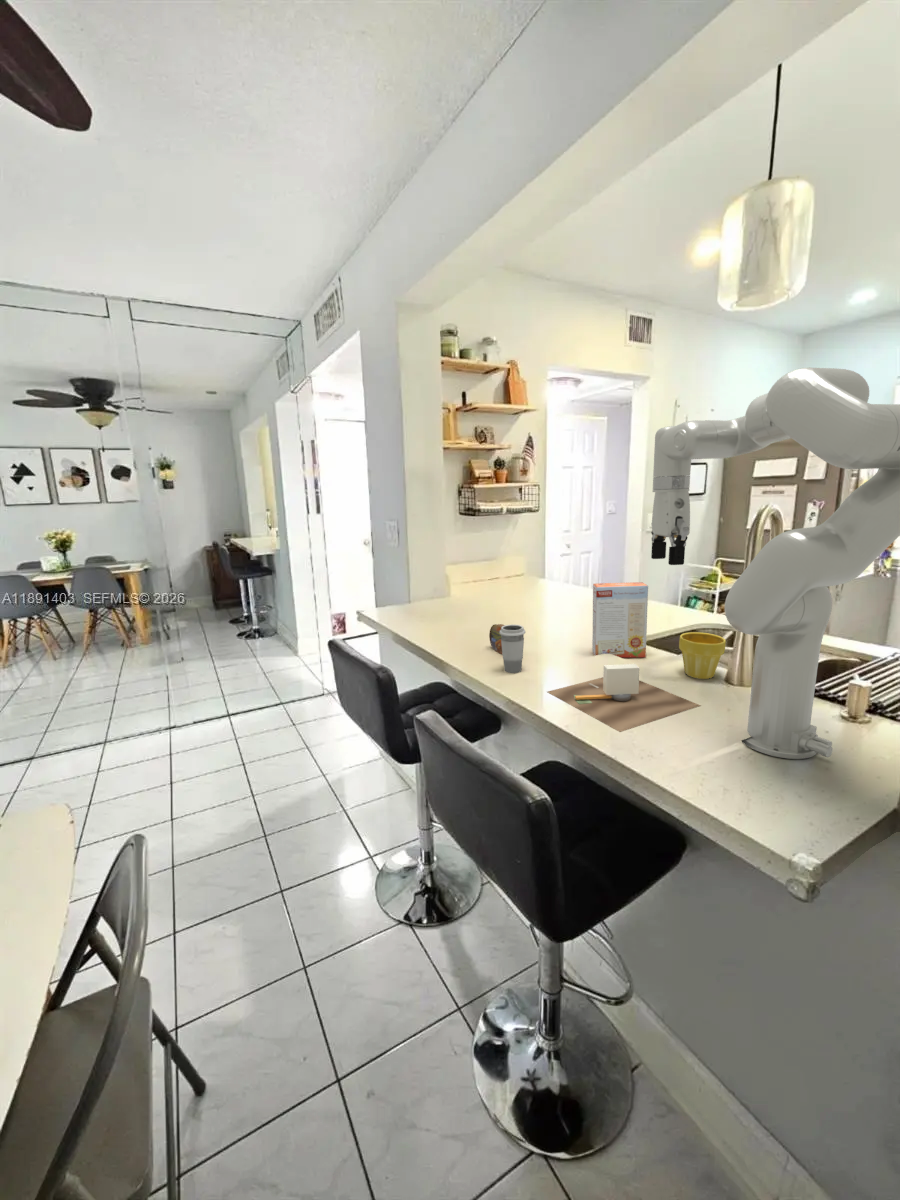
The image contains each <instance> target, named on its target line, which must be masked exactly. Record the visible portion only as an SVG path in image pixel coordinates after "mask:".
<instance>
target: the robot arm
mask: <svg viewBox="0 0 900 1200" xmlns="http://www.w3.org/2000/svg"><path fill="white" fill-rule="evenodd" d="M869 397H870V387H869V384H868V381H867V380H866V379H865V377H863V376H862V375H861V374H860V373H858V372H856V371H854V370H849V369H846V368H837V367H835V368H830V367H801V368H797V369H793V370H790V371H789V372H787V373H785V374H784V375H782V376H781V377H779V379H777V380H776V381H775V382H774V384H773V385H772V386H771V388H770V389H769V391H768V392H767V393H764V394H762V395H759V396H757V397H756V398H755V399H752V401H751V402H750V403H749V404H748V407H747V409H746V411H745V414H744V415H743V416H740V417H737V418H734V419H729V420H728V419H727V420H721V419H720V420H719V419H717V420H715V419H713V420H711V419H708V420H687V421H685V422H682V423H679V424H677V425H671V426H664V427H661V428H659V429H657V431H656V432H655V435H654V436H655V437H654V453H653V456H654V457H653V470H652V471H653V475H652V493H654V497H653V504H652V505H653V506H652V519H651V535H652V537H651V555H650V556H651V559H652V560H662V559H666V558H667V557H666V556H667V541H666V538H668V539H669V542H670V546H669V547H668V548H669V549H668V565H669V566H681V565H684V564H685V554H686V552H685V551H686V546H687V540H688V536H689V534H690V531H691V530H690V529H691V504H690V503H691V502H690V488H691V487H690V486H691V485H690V484H691V470H692V469H691V467H692V460H702V459H703V460H704V459H705V460H707V459H708V460H709V459H710V460H711V459H712V460H713V459H714V460H715V459H716V460H717V459H718V460H719V459H728V458H734V457H737V456H741V455H742V456H743V455H745V454H749V453H755V452H756V451H760V450H762V449H764V448H767V447H768V446H770V445H771V444H774V443H777V442H779V443H780V442H782V441H785V440H790V439H792V440H793V441H795V442H796V443H797V444H799V445H800V446H802V447H803V448H805V449H806V450H808V452H811V453H812V454H813V455H815V456H816V457H817V458H819V459H820V460H822V461H824V462H825V463H827V464H829V465H831V466H834V467H837V468H841V469H845V470H870V469H871V470H873V469H878V471H877V472H875V474H874V475H873V476H872V477H870V478H869V479H868V480H866V481H865V482H864V483H863V484H861V485H860V486H858V487H857V488H856V489H855V490H853V491H852V492H851V493H850V494H849V495H848V496H847V497H846V498H845V499H844V500H843V501H842V503H841V504H840V506H839V507H838V508H837V509H836V510H835V511H834V512H833V513H832V514H831V515H830V516H829V517H828V518H827V519H826V520H825V521H824V522H822V523H821V524H818V525H816V526H812V527H802V528H800V527H799V528H795V529H790V530H785V531H784V532H781V533H779V534H777V535H775V537H773V538H771V540H769V541H768V542H767V543H766V544H765V545H763V547H762V548H761V549H760V551H759V552H758V553H757V554H756V556H754V558H753V559H752V560H751V562H749V564H748V565H747V567H746V568H745V569H744V571H743V572H742V573H741V574H740V576H738V578H737V579H736V581H735V582H734V583H733V585H732V586H731V588H730V589H729V591H728V593H727V595H726V598H725V601H724V614H725V617H726V619H727V622H728V623H729V625H730V626H731V627H732V628H733V629H735V630H737V631H738V632H740V633H743V634H746V635H753V636H754V635H755V636H758V638H757V641H756V645H755V648H754V649H755V650H754V654H753V655H754V658H753V665H752V666H753V669H752V676H751V677H752V678H751V679H752V680H751V688H750V689H751V690H750V698H749V707H748V708H749V710H748V720H747V733H748V735H749V736H750V737H747V738H744V739H742V740H741V742H742V744H744V745H745V746H747V747H748V748H750V749H753V750H754V751H756V752H759V753H762V754H764V755H768V756H771V757H775V758H782V759H790V760H802V759H809V758H812V757H814V756H816V755H817V754H818V755H821V756H823V757H826V758H829V757H830V756H831V755H832V753H833V742H832V741H831V740H829V739H826V738H823V737H820V736H818V734H817V728H818V727H817V726H815V725H813V724H811V723H812V722H811V721H812V714H813V707H814V699H815V698H814V697H815V691H816V690H815V689H816V685H817V684H816V683H817V675H818V667H819V661H820V652H821V647H822V643H823V638H824V636H825V631H826V629H827V626H828V623H829V620H830V619H831V618H830V617H831V614H832V610H833V597H832V593H831V591H830V589H829V587H832V586H833V587H834V586H839V585H843V584H846V583H849V582H851V581H854V580H855V579H857V578H858V577H859V576H860V575H861V574H862V573H863V572H865V570H867V569H868V567H869V566H870V565H871V564H872V563H873V562H874V561H876V559H877V558H879V556H881V555H882V553H884V551H886V550H887V548H889V547H890V546H891V545H892V544H893V542H895V541H896V540H897V539H898V538H899V537H900V404H899V403H897V404H891V403H890V404H888V403H887V404H886V403H885V404H883V403H882V404H880V403H869Z"/></svg>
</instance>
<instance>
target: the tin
mask: <svg viewBox="0 0 900 1200" xmlns="http://www.w3.org/2000/svg"><path fill="white" fill-rule="evenodd" d="M505 625H506V624H502V623H501V624H500V623H498V624H497V623H496V624H495V623H494V624H492V625H491V626H490V629H489V635H488V636H489V643H490V646H491V648H492V650H494V652H496V653H498V654H500V655H502V644H501V638H502V637H501V634H500V633H499V632H500V630H501V627H502V626H505Z"/></svg>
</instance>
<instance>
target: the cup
mask: <svg viewBox="0 0 900 1200" xmlns="http://www.w3.org/2000/svg"><path fill="white" fill-rule="evenodd" d="M504 625H505V626H502V627H501V630H500V632H499V633H500V634H501V637H502V638H501V644H502V654H501V655H502V659H503V669H504V671H505V672H506V673H509V674H517V673H520V672H522V667H523V659H524V643H525V637H524V635H525V634H526V629H525V627H524V626H523V625H521V624H504Z"/></svg>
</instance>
